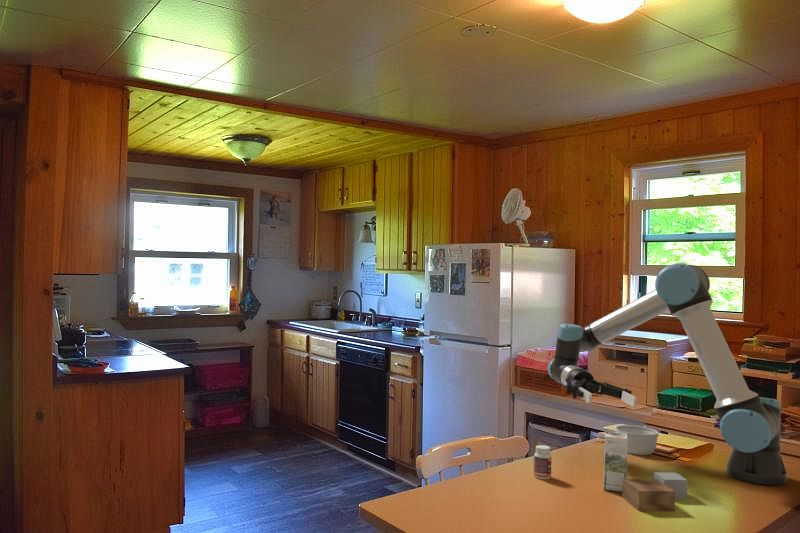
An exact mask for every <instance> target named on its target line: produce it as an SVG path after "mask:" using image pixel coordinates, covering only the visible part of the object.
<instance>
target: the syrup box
mask: <svg viewBox="0 0 800 533" xmlns="http://www.w3.org/2000/svg"><path fill="white" fill-rule="evenodd" d="M627 445H628V439H627V434H625V433H616V432H612V431H605V432H604V452H603V453H604V454H603V455H604V456H603V459H604V461H603V490H604V491H607V492H608V491H609V492H614V493H622V494H623V479H628V478H627V477H628V476H627V474H628V473H627V471H628V453H627Z"/></svg>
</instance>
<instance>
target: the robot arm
mask: <svg viewBox="0 0 800 533" xmlns="http://www.w3.org/2000/svg"><path fill="white" fill-rule="evenodd" d="M654 283H655V285H654V286H655V288H654V290H652V291H650V292H648V293H645V295H643V296H641V297H639V298H637V299H634V300H633V301H631V302H629V303H627V304H625V305H624V306H622V307H619V308H617V309H615V310H614V311H612V312H610V313H608V314H606V315H604V316H602V317H601V318H599V319H596V320H595V321H593V322H591V323H590V324H587V325H585V326H583V327H582V326H581V325H578V324H572V323H566V322H565V323H561V324H560V325H559V328H558V332H557V336H556V337H557V338H556V346H555V354H554V357H553V358H552V359H551V360H550V361H549V363H547V364H548V365H547V373H548V375H549V376H550V378H552V380H554V381H555V382H557V383H559V384H561V385H562V386H563V387H564V388H565V395H571V394H572V396H571V397H572V399H577V397H578V398H579V399H581V400H583V401H584V402H585V403H587V404H592V400H593V398H592V397H593V394H595V395H599V396H602V395H606V396H610V397H613V398H616V399H620V400H621V402H624V403H625V404H627V405H628V406H631V407H632V408H637V401H638V397H636V396H635V395H633V394H632V393H633V392H632V390H629V389H628V388H624V387H619V386H617V385H613V384H610V383H609V382H606V381H603V382H600V381H597V380H595V377H594V376H593V374H592V373H591V372H589V371H587V370H585V369H584V368H582V367H580V366H579V365H578V364H579V357H580V353H581V352H583V353H584V352H590V351H592V350H595V349H596V348H598V346H600V345H602V344H604V343H606V342H608V341H610V340H612V339H614V338H616V337H618V336H620V335H622V334H624V333H626V332H628V331H630V330H632V329H635V327H638V326H640V325H642V324H644V323H646V322H648V321H650V320H652V319H654V318H655V317H658V316H660V315H663V314H664V313H666V312H668V311H669V312H670V314H671V316H672V317H674V318H676V319H679V320H680V323H681V325H682V328H683V329H684V332H685V334H686V336H687V338H688V340H689V342H690V345H691V347H692V349H693V351H694V353H695V356H696V358H697V360H698V362H699V364H700V367H701V368H702V371H703V373H704V375H705V378H706V379H707V381H708V384H709V387H710V388H711V390H712V393H713V394H714V397H715V399H716V401H715V403H714V407H713V408H714V410H715V413H716V414H717V417H718V419H719V422H720V423H719V430H720V434H721V437H722V438H723V440H724V441H725V443H726V444H728V445H729V446H730V447H731V448H732V450H731V453H730V456H729V458H728V461H727V463H726V474H727V475H728V476H730V477H731V478H733V479H736V480H740V481H743V482H747V483H752V484H757V485H764V486H765V485H766V486H782V485H785V484H787V483H788V473H787V470H786V467H785V464H784V461H783V459H782V455H781V420H782V419H781V416H782V415H781V414H782V411H783V410H782V405H781V402H780V400H778V399H776V398H768V397H761V396H760V395H759V394H758V393H757V392H755V391H752V390H751V389H749V386H748V384H747V382H746V380H745V378H744V376H743V375H742V372H741V370H740V368H739V366H738V364H737V361H736V359H735V357H734V355H733V353H732V351H731V350H730V347H729V345H728V343H727V341H726V339H725V337H724V334H723V332H722V330H721V329H720V326H719V324H718V322H717V320H716V318H715V315H714V313H713V311H712V308H711V306H712V304H713V301H714V300H713V298H712V296H711V294H710V292H709V291H710V287H711V286H710V285H711V282H710V277H709V275H708V274H707V272H706V271H705V270H704V269H702V268H701V267H699V266H697V265H693V264H687V263H682V262H678V263H676V262H675V263H672V264H669V265H667V266H665V267H664V268H662V269H661V270H660V271H659V273H658V274H657V276H656V278H655V282H654Z"/></svg>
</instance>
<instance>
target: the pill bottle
mask: <svg viewBox="0 0 800 533" xmlns="http://www.w3.org/2000/svg"><path fill="white" fill-rule="evenodd" d="M552 460H553V459H552V454H551V446H548V445H545V444H544V445H542V444H540V445H535V453H534V455H533V477H534V478H536V479H539V480H549V479H551V478H552Z"/></svg>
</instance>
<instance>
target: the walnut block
mask: <svg viewBox="0 0 800 533" xmlns="http://www.w3.org/2000/svg"><path fill="white" fill-rule="evenodd" d="M622 499H623V500H624V501H626V502H627V503H628V504H630V506H632V507H633V508H634V509H635V510H636V511H638V512H675V510H676V509H675V508H676V504H675V503H676V499H675V491H674V490H672V489H671V488H669V487H668V486H666V485H665V484H663V483H662V482H660V481H659V480H657V479H654V478H650V479H649V478H627V479H623V493H622Z"/></svg>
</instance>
